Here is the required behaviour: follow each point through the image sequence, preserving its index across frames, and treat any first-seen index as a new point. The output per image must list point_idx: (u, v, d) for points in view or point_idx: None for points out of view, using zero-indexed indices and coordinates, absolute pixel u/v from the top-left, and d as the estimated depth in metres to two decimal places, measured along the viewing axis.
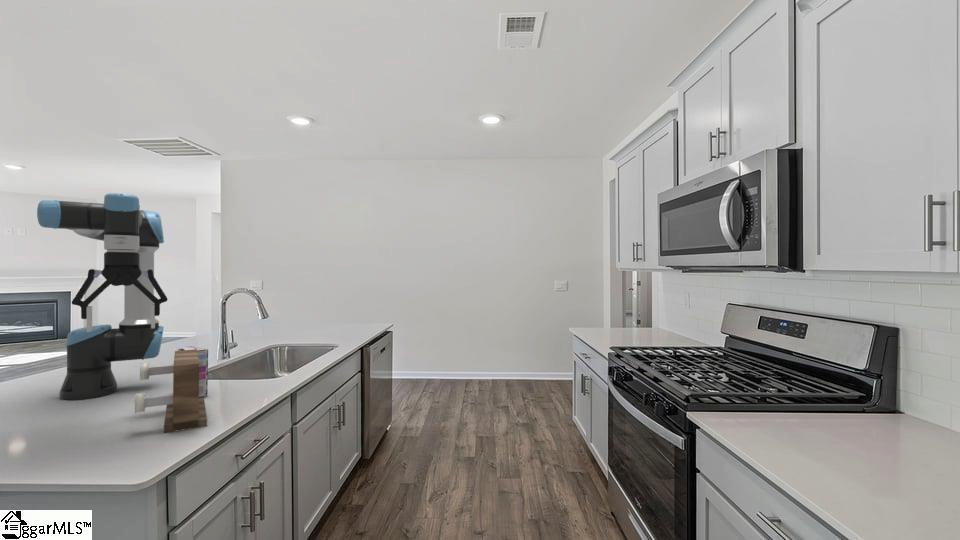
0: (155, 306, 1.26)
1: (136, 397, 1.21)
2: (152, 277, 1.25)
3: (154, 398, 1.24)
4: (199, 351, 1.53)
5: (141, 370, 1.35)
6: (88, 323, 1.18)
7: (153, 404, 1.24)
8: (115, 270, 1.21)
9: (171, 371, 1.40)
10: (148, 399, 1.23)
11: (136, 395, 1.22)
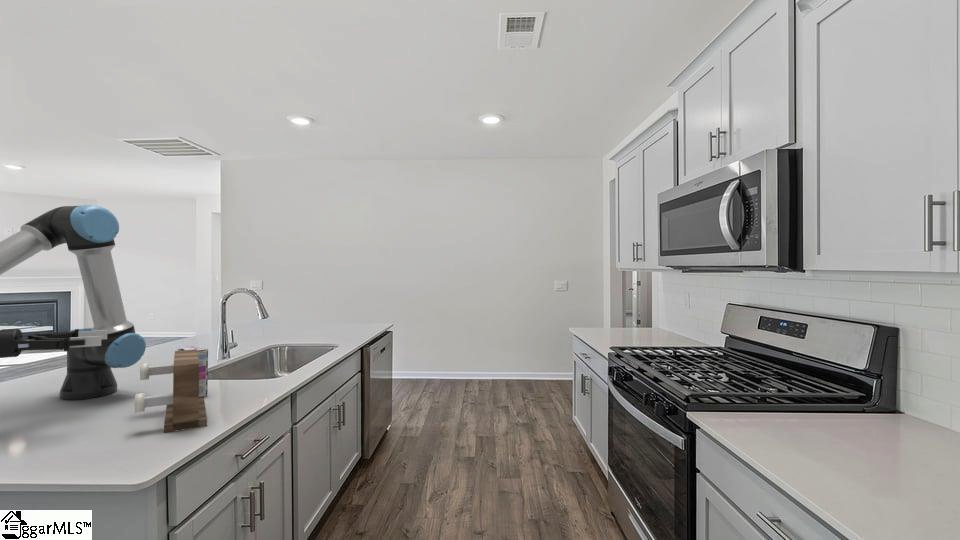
0: None
1: (136, 397, 1.21)
2: (29, 349, 1.18)
3: (154, 398, 1.24)
4: (199, 351, 1.53)
5: (141, 370, 1.35)
6: None
7: (153, 404, 1.24)
8: None
9: (171, 371, 1.40)
10: (148, 399, 1.23)
11: (136, 395, 1.22)
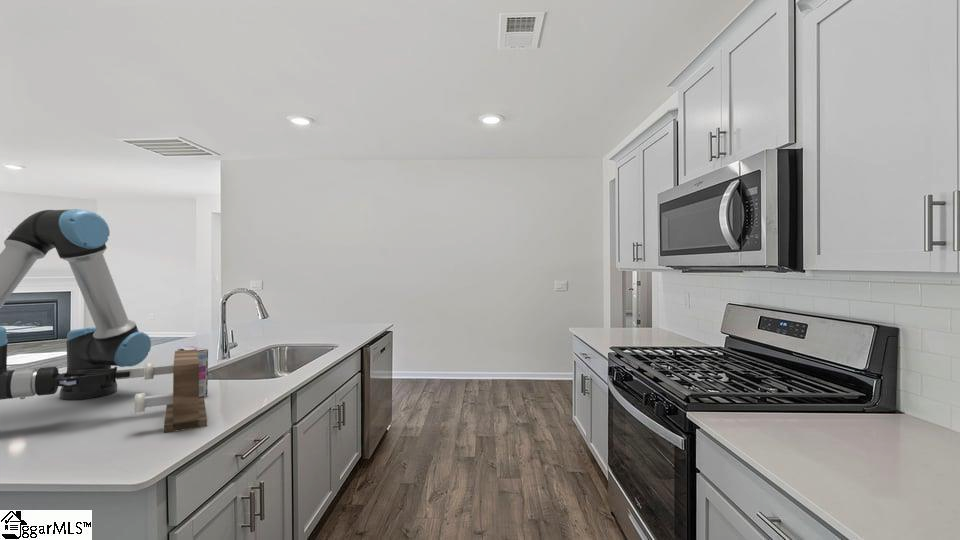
0: None
1: (136, 397, 1.21)
2: (77, 386, 1.24)
3: (154, 398, 1.24)
4: (199, 351, 1.53)
5: (145, 369, 1.35)
6: None
7: (153, 404, 1.24)
8: None
9: None
10: (148, 399, 1.23)
11: (136, 395, 1.22)
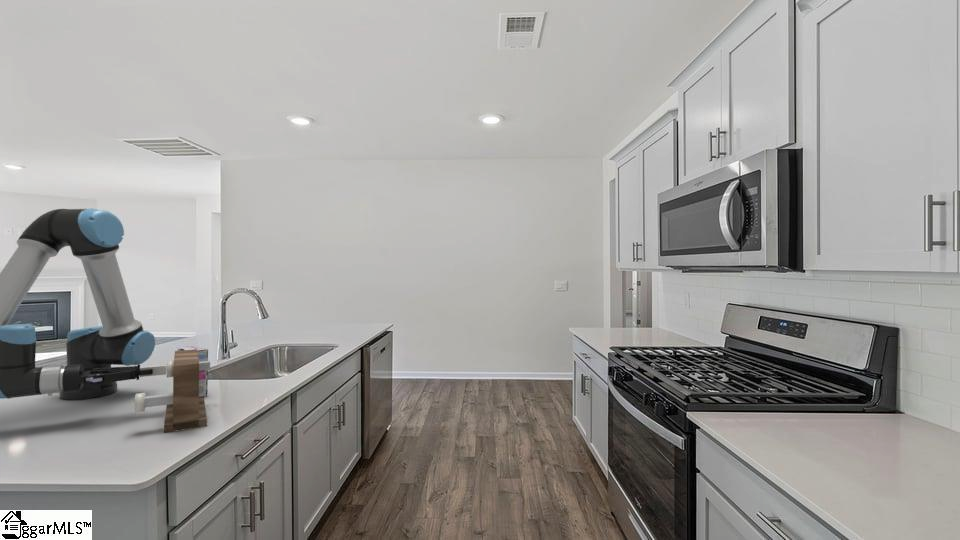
0: (141, 374, 1.36)
1: (136, 397, 1.21)
2: (103, 383, 1.28)
3: (154, 398, 1.24)
4: (199, 351, 1.53)
5: (167, 367, 1.38)
6: None
7: (153, 404, 1.24)
8: None
9: None
10: (148, 399, 1.23)
11: (136, 395, 1.22)
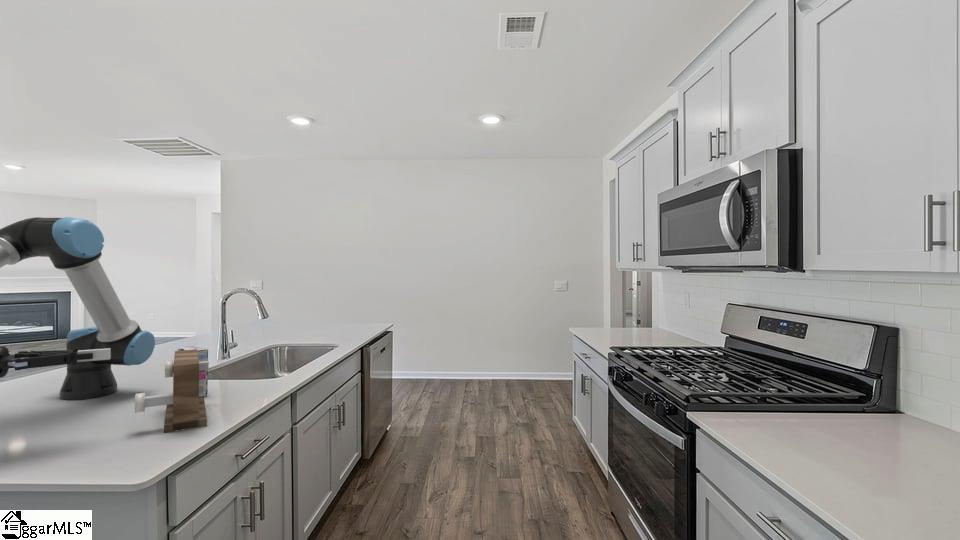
0: None
1: (136, 397, 1.21)
2: (28, 368, 1.07)
3: (154, 398, 1.24)
4: (199, 351, 1.53)
5: (165, 367, 1.38)
6: None
7: (153, 404, 1.24)
8: None
9: None
10: (148, 399, 1.23)
11: (136, 395, 1.22)
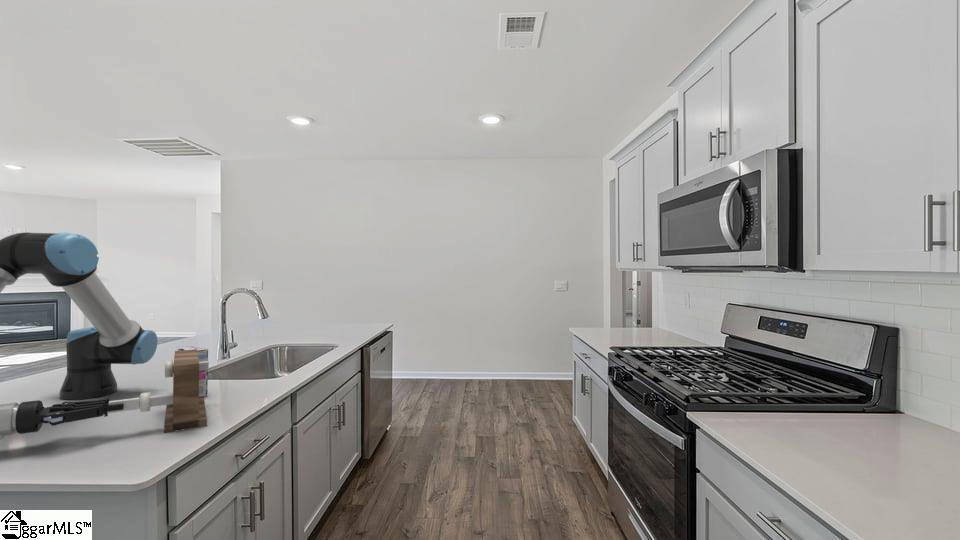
0: None
1: (141, 396, 1.22)
2: (64, 422, 1.10)
3: (159, 397, 1.24)
4: (199, 351, 1.53)
5: (165, 367, 1.38)
6: None
7: (158, 403, 1.24)
8: None
9: None
10: (153, 398, 1.23)
11: (141, 394, 1.22)
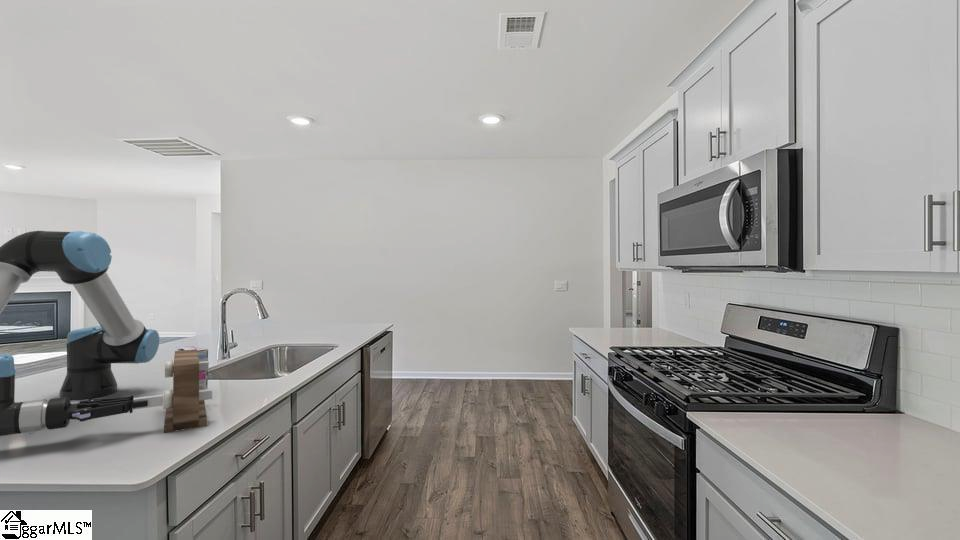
0: None
1: (165, 394, 1.25)
2: (91, 418, 1.13)
3: None
4: (199, 351, 1.53)
5: (165, 367, 1.38)
6: None
7: None
8: None
9: None
10: None
11: (164, 392, 1.25)
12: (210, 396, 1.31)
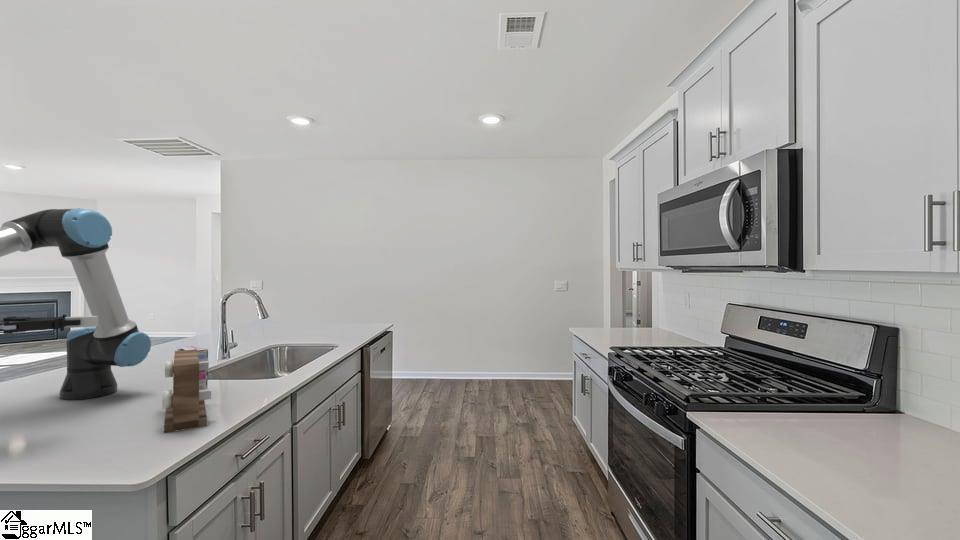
0: None
1: (163, 394, 1.24)
2: (17, 331, 1.11)
3: None
4: (199, 351, 1.53)
5: (165, 367, 1.38)
6: None
7: None
8: None
9: None
10: None
11: (163, 392, 1.25)
12: (209, 396, 1.31)
